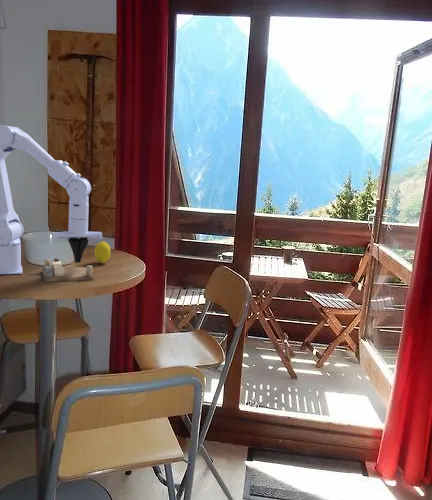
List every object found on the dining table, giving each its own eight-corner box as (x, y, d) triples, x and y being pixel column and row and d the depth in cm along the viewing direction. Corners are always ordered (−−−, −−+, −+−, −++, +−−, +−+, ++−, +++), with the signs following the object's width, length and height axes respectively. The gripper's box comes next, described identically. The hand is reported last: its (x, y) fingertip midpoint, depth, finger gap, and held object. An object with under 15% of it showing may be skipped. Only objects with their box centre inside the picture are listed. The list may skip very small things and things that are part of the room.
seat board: (44, 281, 143) (44, 268, 142) (42, 271, 154) (42, 259, 153) (93, 279, 148) (93, 267, 148) (88, 270, 159) (88, 258, 159)
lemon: (106, 266, 167) (106, 243, 165) (91, 264, 168) (91, 241, 166) (112, 262, 172) (113, 240, 170) (98, 261, 173) (98, 238, 171)
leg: (52, 268, 154) (52, 258, 153) (60, 268, 155) (60, 258, 154) (54, 276, 145) (54, 265, 144) (63, 276, 146) (63, 265, 145)
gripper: (98, 216, 155) (96, 258, 157) (51, 216, 148) (50, 259, 150) (104, 220, 149) (103, 263, 152) (56, 219, 142) (55, 265, 144)
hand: (77, 261), depth 150 cm, fingers closed
